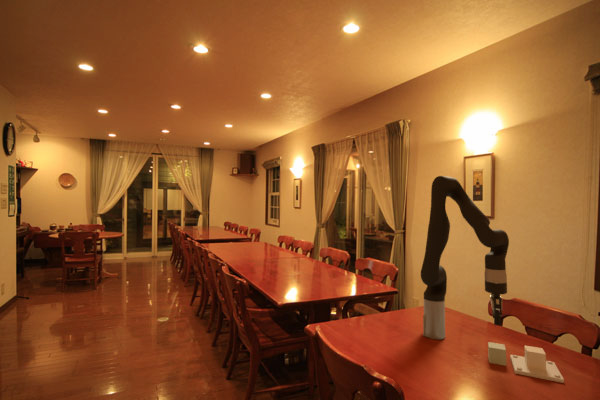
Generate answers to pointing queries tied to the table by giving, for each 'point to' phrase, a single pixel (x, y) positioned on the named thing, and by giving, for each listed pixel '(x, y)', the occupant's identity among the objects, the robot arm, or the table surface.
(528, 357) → the cream brick
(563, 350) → the table surface
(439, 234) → the robot arm
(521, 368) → the baseplate
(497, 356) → the sage brick
